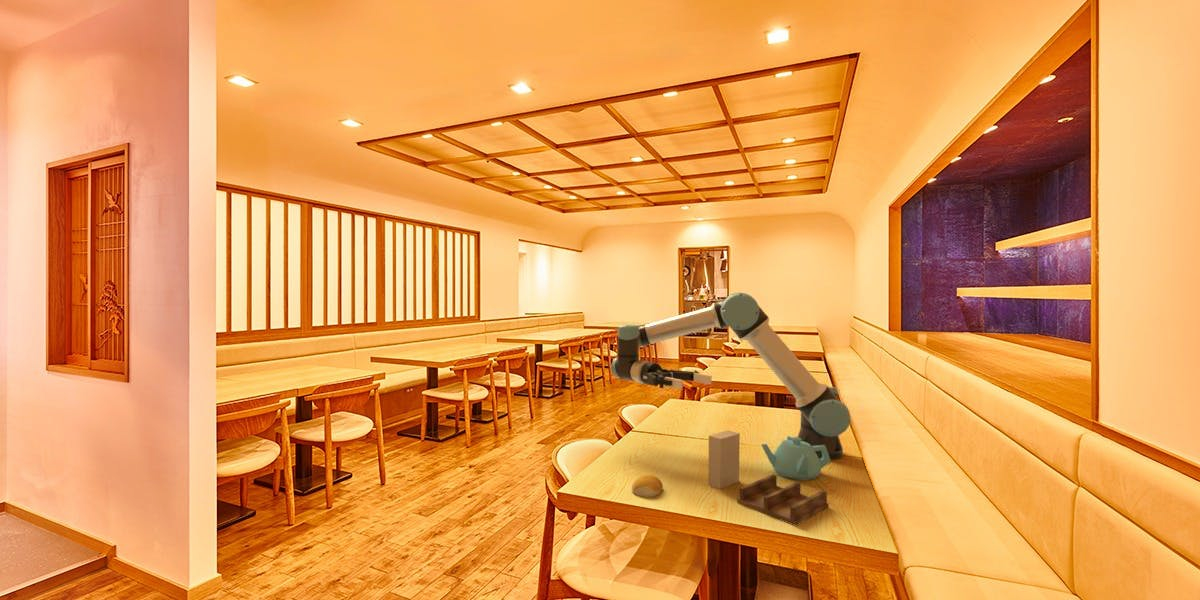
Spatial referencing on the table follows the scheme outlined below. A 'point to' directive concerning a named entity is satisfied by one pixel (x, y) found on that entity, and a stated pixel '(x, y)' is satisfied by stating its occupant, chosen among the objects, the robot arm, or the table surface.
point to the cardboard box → (723, 459)
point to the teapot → (797, 459)
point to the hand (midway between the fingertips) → (696, 382)
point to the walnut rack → (782, 500)
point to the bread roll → (647, 486)
